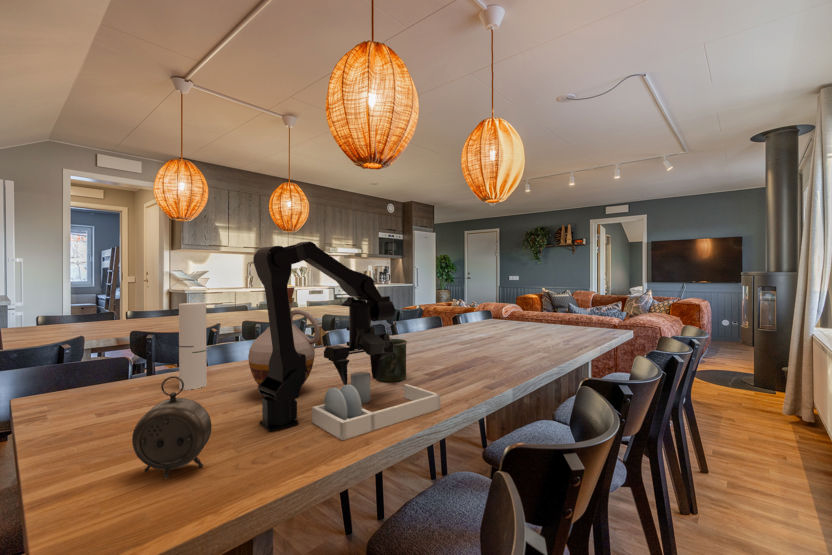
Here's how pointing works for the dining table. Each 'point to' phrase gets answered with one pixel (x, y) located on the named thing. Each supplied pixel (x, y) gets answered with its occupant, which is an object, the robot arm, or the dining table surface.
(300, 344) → the jug
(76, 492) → the dining table surface
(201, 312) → the cylindrical container
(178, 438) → the alarm clock
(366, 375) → the grey rectangular slab
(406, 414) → the dish rack
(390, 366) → the mug
